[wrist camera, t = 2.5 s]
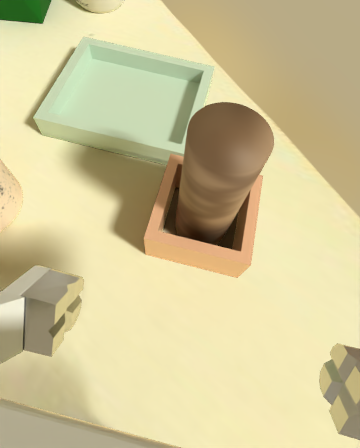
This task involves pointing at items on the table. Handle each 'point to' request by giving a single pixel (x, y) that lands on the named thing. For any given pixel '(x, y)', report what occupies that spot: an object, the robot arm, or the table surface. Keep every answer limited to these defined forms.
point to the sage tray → (125, 100)
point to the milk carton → (24, 10)
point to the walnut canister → (219, 168)
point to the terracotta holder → (195, 250)
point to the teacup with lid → (9, 197)
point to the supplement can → (100, 5)
